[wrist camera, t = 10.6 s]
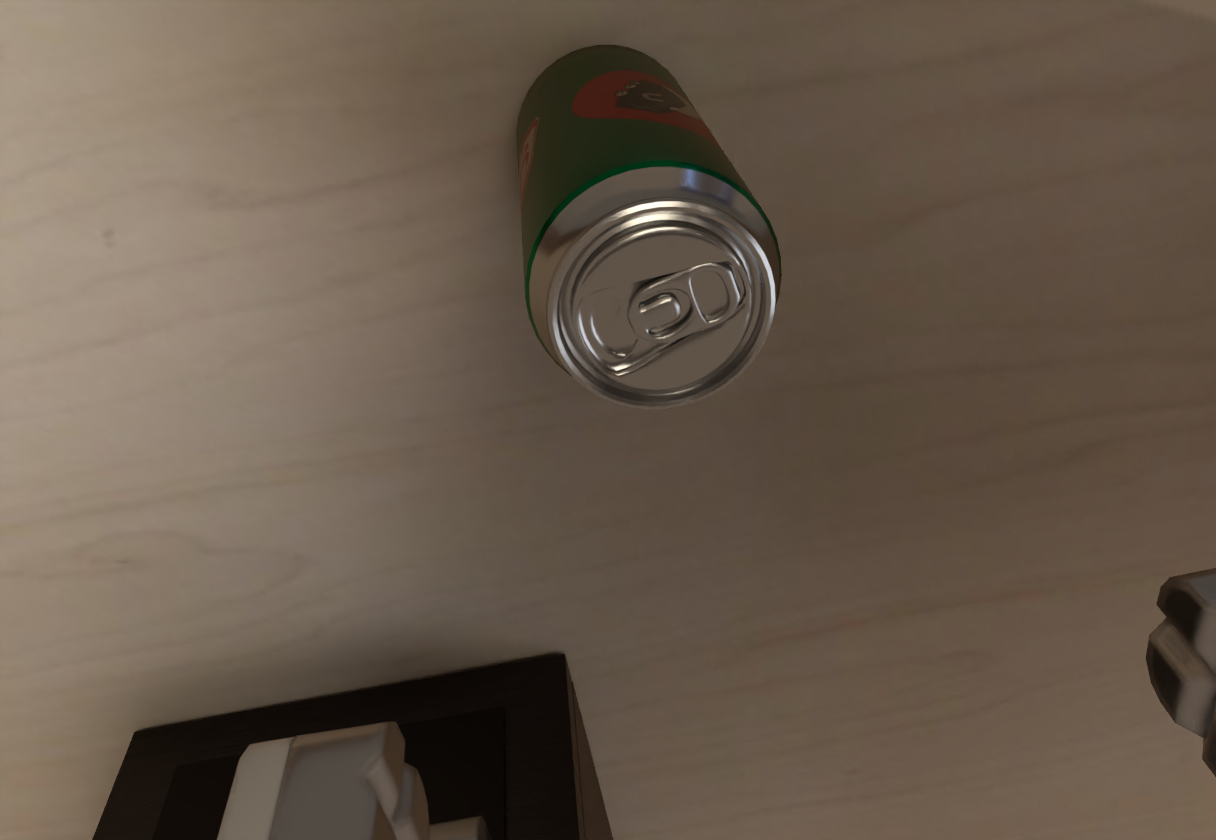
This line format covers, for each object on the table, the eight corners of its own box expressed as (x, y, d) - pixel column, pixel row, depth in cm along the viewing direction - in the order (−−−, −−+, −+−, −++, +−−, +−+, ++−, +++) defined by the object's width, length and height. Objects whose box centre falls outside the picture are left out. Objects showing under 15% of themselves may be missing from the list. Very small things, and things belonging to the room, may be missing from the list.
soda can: (486, 83, 27) (479, 247, 17) (654, 10, 26) (752, 133, 16) (557, 239, 29) (587, 461, 19) (710, 176, 29) (825, 371, 19)
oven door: (71, 638, 36) (-128, 1030, 24) (538, 553, 36) (558, 905, 24) (150, 755, 40) (9, 1139, 28) (571, 678, 40) (601, 1032, 28)
